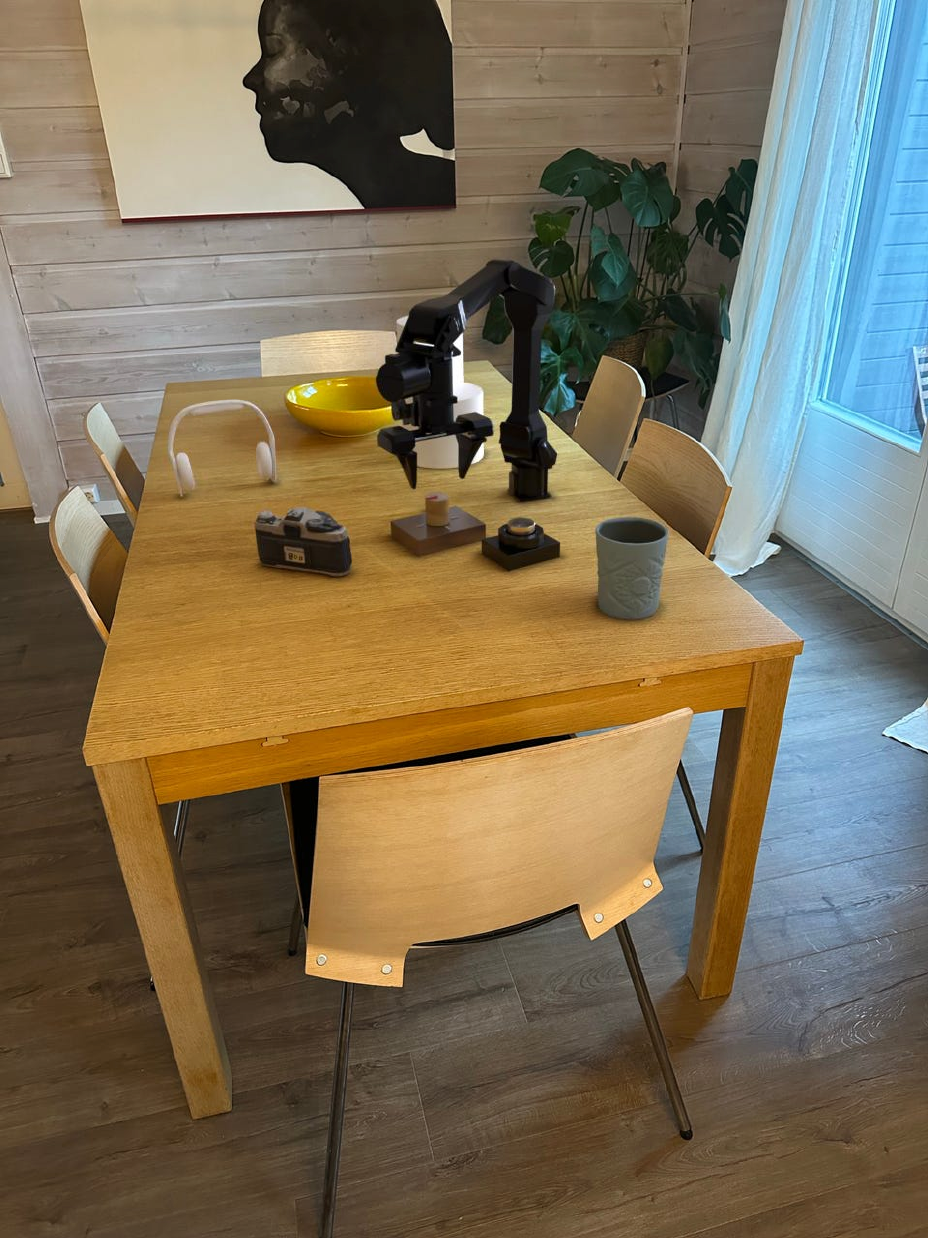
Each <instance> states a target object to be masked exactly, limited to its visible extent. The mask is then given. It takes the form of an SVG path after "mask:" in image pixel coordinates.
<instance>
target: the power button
mask: <svg viewBox="0 0 928 1238" xmlns="http://www.w3.org/2000/svg"><path fill="white" fill-rule="evenodd" d="M506 524H507V533H508V534H509V535H512V536H517V537H526V536H530V535H533V534H534V533H535V524H536V522H535V521H534V520H533V519H531V518H528V517H514V518H511V519H509V520H508V521H507V523H506Z"/></svg>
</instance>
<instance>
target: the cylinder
mask: <svg viewBox="0 0 928 1238" xmlns="http://www.w3.org/2000/svg"><path fill="white" fill-rule="evenodd" d="M408 316H409V315H407V316H403V317H400V318H398V319H397V320H396V338H397V342H398V341H399V339H400V336H401V334H402V331H403V329H404V326H405V324H406V321H407V319H408ZM413 343H415V344H422V345H428V346H434V345H430V344H424V343H417V342H415V341H414V342H413ZM453 344H454V346H456V347H457V348H458V349H459V350H460V351H461V355H459V356H456V357H452V364H453V395H454V396H457V402H458V403H456V404H453V409H454V421H455V422H456V418H457V417H458V415H462V414H467V413H473V412H477V413H479V414H481V415H484V389H483V388H482V387H481V386H480V385H477V384H474V383H471V382H469V383H468V382H466V381H465V382H464V332H463V333H462V334H461V335H460V336H459V337H458V338H457V340H456V341H455V342H454V343H453ZM405 401H406V404H409V403H412V402H413V397H410V398H407V399H405ZM400 422H401V427H403V428H405V429H407V430H409V431H411V430H416V429H418V427H417V426H416V427H414V426H412V425H411V423H410V424H409V425H404V424H403V419H402V420H401V421H400ZM426 434H430V433H426ZM415 445H416V446H415V447H414V449H413V451H415V452H417V467H419V468H425V469H436V470H437V469H439V470H441V469H442V470H443V469H455V468H456V469H458V442H457V439H456V436H455V435H451V436H446V437H440V438H435V439H430V440H424V441H419V442H415ZM483 457H484V442H483V443H482V445H481V447H480V448H479V450H478V452H477V453H476V455H475V457H474V459H473V461H472V463H471V465H474V464H475V463H478V462H479V461H481V460H482V459H483Z"/></svg>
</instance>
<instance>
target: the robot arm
mask: <svg viewBox="0 0 928 1238" xmlns="http://www.w3.org/2000/svg"><path fill="white" fill-rule="evenodd" d="M555 295H556V288H555V284H554V282H552V280H551V278H550V277H549V276H548V275H543V274H539V273H537V272H535V271H533V270H530V269H529V268H526V267H524V266H522V265H521V264H520V263H519V262H516V261H515V260H513V259H500V258H499V259H498V258H493V259H490V260H488V262H486V264H485V266H484V267H482V268H481V269H480V270H479V271H478V272H476V273H474V274H473V275H471V276H470V277H469V278H468V279H466V280H465V281H463V282H462V283H461V284H459V285H458V286H457V287H455V288H454V289H452V290H451V291H450V292H449V293H447V294H445V295H443V296H438V297H433V298H429V299H426V300H423V301H421V302H419V303H417V304H415V305H413V306H412V308H411V309H410V310H409V311H408V315H407V316H408V319H407V321H406V324H405V326H404V329H403V331H402V334H401V336H400V339H399V341H397V343H396V346H395V349H394V351H395V353H389V354H386V355H385V356H384V363H383V364H382V365H381V366H379V369H378V371H377V374H376V376H375V383H376V388H377V391H378V392H379V395H380V396H381V397H382V398H383V399H384V400H385V401H387V402H389V403H390V411H391V418H392V420H393V421H395V422H397V421H400V420H402V419H403V424H404V425H409V424H410V423H411V425H412V426H414V427H416V426H417V427H418V429H416V430H411V431H409V430H407V429H405V428H403V427H402V425H394V426H389V427H384V428H383V427H382V428H380V429H379V431H378V433H377V435H376V441H377V442H376V443H377V444H376V445H377V447H379V448H381V449H382V450H384V451H386V452H388V453H389V454H391V455H394V456H395V457H396V458H397V460H398V461H399V463H400V465H401V467H402V470H403V472H404V475H405V478H406V479H407V482H408V484H409V488H411V489H412V490H416V489H417V483H418V466H417V452H415V451H413V449H414V447H415V446H416V445H415V442H419V441H424V440H430V439H435V438H440V437H446V436H451V435H455V436H456V439H457V442H458V467H457V471H458V477H459V478H460V479H461V480H463V479H465V478H466V476H467V473H468V472H469V469H470V467H471V466H472V464H471V463H472V461H473V459H474V457H475V455H476V453H477V452H478V450H479V448H480V447H481V445H482V443H483V444H484V443H487V442H488V438H489V437H493V436H494V432H495V430H494V427H495V425H494V422H493V420H492V419H491V418H490V417H488V416H486V415H484V414H483V415H481V414H479V413H477V412H473V413H467V414H462V415H458V417H457V418H456V422H455V421H454V409H453V404H456V403H458V402H457V396H454V395H453V364H452V357H456V356H459V355H461V351H460V350H459V349H458V348H457V347H456V346H454V344H453V343H454V342H455V341H456V340H457V338H458V337H459V336H460V335H461V334H462V333H463V334H464V332H465V330H466V324H467V321H468V320H469V319H470V318H471V317H473V316H474V315H476V313H478V312H480V310H482V309H483V308H485V306H487V305H488V304H489V303H491V302H492V301H493V300H495V299H496V298H497V297H498V296H500V297H501V298H503V303H504V312H505V315H506V317H507V319H508V321H509V323H510V325H511V327H512V330H513V333H512V335H513V337H512V342H513V343H512V371H511V372H512V373H511V374H512V375H511V379H512V380H511V407H510V408H511V410H510V413H509V414H508V416H507V418H506V419H505V421H501V422H500V424H499V426H498V427H499V439H498V444H500V450H501V453H502V456H503V460H504V463H507V464H510V465H511V466H510V468H511V471H509V472H508V488H507V492H508V493H509V494H510V495H511V496H512V497H514V498H515V499H516V500H517V501H519V502H521V503H525V502H530V501H531V502H532V501H536V500H543V499H550V498H552V494H551V493H550V492H549V491H548V487H549V485H548V484H549V470H552V469H553V466H555V465H556V461H557V457H558V452H557V451H556V450H555V448H554V447H553V446H552V444H551V443H550V441H548V426H547V424H546V422H545V420H544V418H543V416H542V415H541V412H540V394H541V393H540V392H541V391H540V390H541V369H542V368H541V364H542V342H543V340H542V339H543V328H544V326H545V325H546V323H547V322H548V320H549V319H550V317H551V315H552V313H553V307H554V300H555ZM414 341H415V342H417V343H424V344H430V345H434V346H428V345H422V344H415V343H413V342H414ZM410 397H413V402H412V403H409V404H406V401H405V399H407V398H410ZM426 433H430V434H426Z"/></svg>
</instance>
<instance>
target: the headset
mask: <svg viewBox="0 0 928 1238" xmlns="http://www.w3.org/2000/svg"><path fill="white" fill-rule="evenodd" d="M244 407H246V408H249V409H251V410H252V411H253V412H254V413H256V415H258V416H259V418H260V420H261V421H262V423H263V425H264V427H265V430H266V432H267V434H268V442H269V444H268V443H267V442H266V441H259V442H258V443H257V445H256V450H255V456H256V457H255V458H256V467H257V472H258V475H259V478H260V479H262V480H263V481H269V480H271V482H272V483H274V484H275V483H277V475H278V474H277V460H276V459H277V457H276V441H275V435H274V432H273V430H272V428H271V425H270V423H269V421H268V419H267V417H266V415H265V414H264V413H263V411H262V410H261V409H260V408H259V407H258V406H257V405H256V404H254V403H252V402H250V401H247V400H242V399H221V400H219V399H218V400H213V401H212V400H211V401H204V402H199V403H195V404H191V405H189V406H187V407H185V408H183V409H182V410H179V412H178V413H177V414H176V415H175V417H174V418H173V420H172V423H171V426H170V429H169V433H168V440H167V454H168V457H169V460H170V463H171V465H172V469H173V473H174V476H175V480H176V484H177V488H178V492H179V496H180V497H181V498H182V497H183V496H184V495H183V492H182V490H183V488H184V490H185V492H193V491H194V490H195V488H196V482H195V477H194V474H193V470H192V467H191V463H190V459H189V457H188V455H187V454H186V453H185V452H178V453H177V454H176V457H175V455H174V440H175V434H176V431H177V428H178V425H179V423H180V421H181V420H182V419H183V418H184V417H185V416H186V415H187V414H188V415H191V416H192V417H200V416H201V417H202V416H207V415H212V414H218V413H226V412H227V413H229V412H240V411H241V410H243V409H244Z"/></svg>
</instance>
